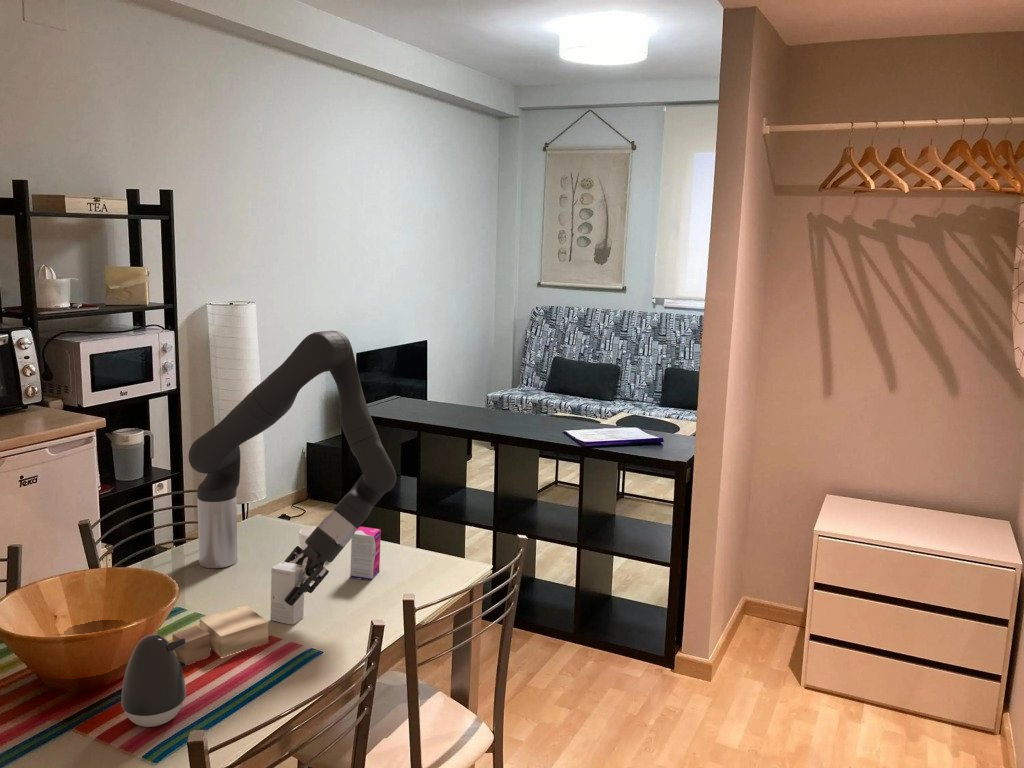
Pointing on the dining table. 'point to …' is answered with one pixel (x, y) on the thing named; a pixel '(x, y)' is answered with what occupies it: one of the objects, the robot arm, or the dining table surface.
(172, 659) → the pump dispenser
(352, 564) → the supplement box
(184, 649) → the tan wooden cube
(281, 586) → the skincare box
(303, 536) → the cup
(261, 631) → the beech block
